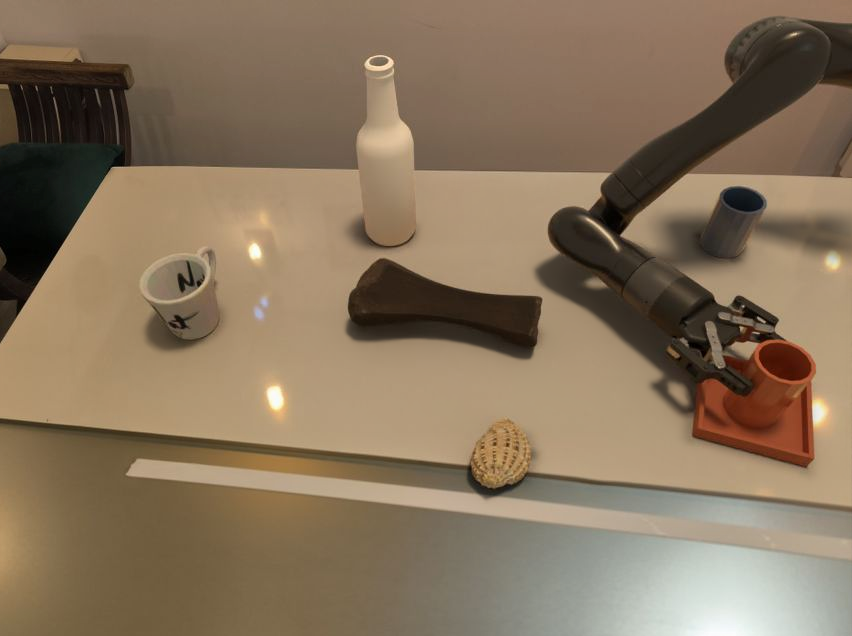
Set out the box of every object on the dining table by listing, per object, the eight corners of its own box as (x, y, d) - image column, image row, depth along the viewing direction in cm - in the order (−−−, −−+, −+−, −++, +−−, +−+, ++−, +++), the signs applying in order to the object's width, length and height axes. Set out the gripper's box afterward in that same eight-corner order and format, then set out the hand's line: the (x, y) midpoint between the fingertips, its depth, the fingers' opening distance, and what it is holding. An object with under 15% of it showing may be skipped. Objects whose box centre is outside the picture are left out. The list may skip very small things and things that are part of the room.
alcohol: (367, 215, 109) (349, 47, 86) (416, 214, 108) (411, 44, 85) (364, 248, 104) (344, 79, 80) (415, 247, 103) (410, 76, 80)
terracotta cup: (750, 379, 82) (784, 332, 74) (789, 416, 79) (829, 370, 71) (712, 397, 81) (742, 351, 73) (749, 436, 77) (785, 392, 69)
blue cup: (743, 235, 100) (767, 190, 93) (742, 261, 97) (766, 217, 90) (700, 227, 102) (720, 182, 95) (698, 253, 98) (718, 208, 91)
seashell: (467, 448, 82) (471, 497, 73) (468, 410, 80) (472, 456, 71) (525, 449, 82) (536, 498, 73) (528, 411, 79) (540, 458, 70)
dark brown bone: (349, 327, 96) (525, 367, 93) (340, 313, 85) (538, 358, 82) (366, 262, 97) (540, 300, 94) (359, 240, 87) (554, 282, 84)
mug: (150, 340, 94) (124, 295, 86) (196, 273, 102) (176, 228, 94) (209, 353, 91) (188, 309, 84) (251, 284, 100) (236, 238, 92)
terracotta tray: (803, 383, 82) (811, 374, 80) (806, 466, 75) (814, 459, 73) (699, 358, 86) (704, 350, 84) (692, 436, 78) (697, 428, 77)
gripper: (637, 301, 78) (748, 385, 69) (710, 255, 82) (823, 328, 74) (622, 338, 84) (723, 420, 75) (691, 293, 88) (794, 365, 79)
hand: (772, 374), depth 74 cm, fingers open, 8 cm apart
